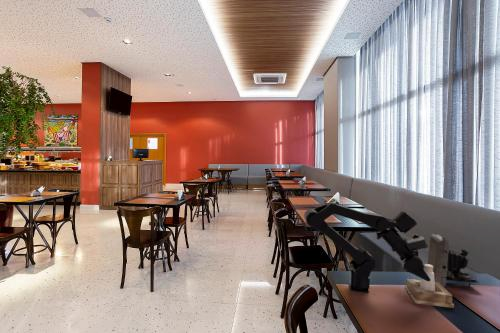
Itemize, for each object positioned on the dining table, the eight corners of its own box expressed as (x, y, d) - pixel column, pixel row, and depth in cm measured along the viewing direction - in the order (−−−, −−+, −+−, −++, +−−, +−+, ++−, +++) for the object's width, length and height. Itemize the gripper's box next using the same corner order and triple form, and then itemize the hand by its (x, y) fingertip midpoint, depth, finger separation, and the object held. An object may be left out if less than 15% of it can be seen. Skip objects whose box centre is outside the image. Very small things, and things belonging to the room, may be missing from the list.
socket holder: (415, 303, 100) (416, 292, 100) (404, 288, 112) (405, 278, 112) (454, 307, 98) (454, 296, 98) (438, 291, 110) (439, 281, 109)
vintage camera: (479, 293, 110) (484, 242, 110) (435, 287, 113) (439, 237, 113) (466, 283, 120) (470, 236, 119) (425, 277, 123) (429, 232, 122)
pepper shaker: (416, 293, 105) (417, 264, 105) (422, 289, 109) (423, 261, 108) (432, 299, 101) (434, 269, 101) (438, 295, 105) (439, 265, 104)
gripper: (416, 234, 98) (453, 272, 94) (411, 223, 115) (442, 255, 111) (389, 253, 101) (423, 291, 97) (388, 240, 118) (417, 271, 114)
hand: (427, 275), depth 105 cm, fingers open, 9 cm apart
